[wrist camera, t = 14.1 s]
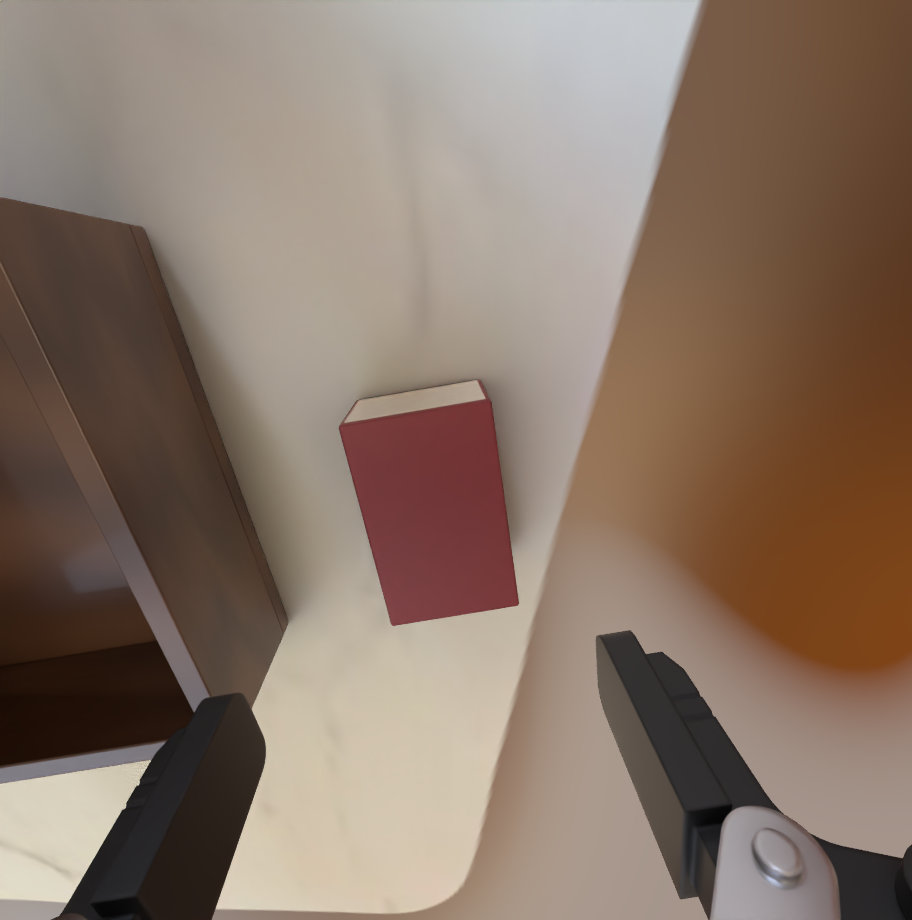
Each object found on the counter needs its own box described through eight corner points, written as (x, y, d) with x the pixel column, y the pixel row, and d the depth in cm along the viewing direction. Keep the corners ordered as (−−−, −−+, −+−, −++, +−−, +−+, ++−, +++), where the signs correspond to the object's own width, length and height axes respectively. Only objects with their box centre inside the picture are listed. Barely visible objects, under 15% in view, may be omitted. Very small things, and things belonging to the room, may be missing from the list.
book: (505, 554, 23) (519, 606, 19) (398, 571, 23) (391, 627, 19) (480, 377, 20) (491, 398, 16) (355, 399, 20) (337, 425, 16)
